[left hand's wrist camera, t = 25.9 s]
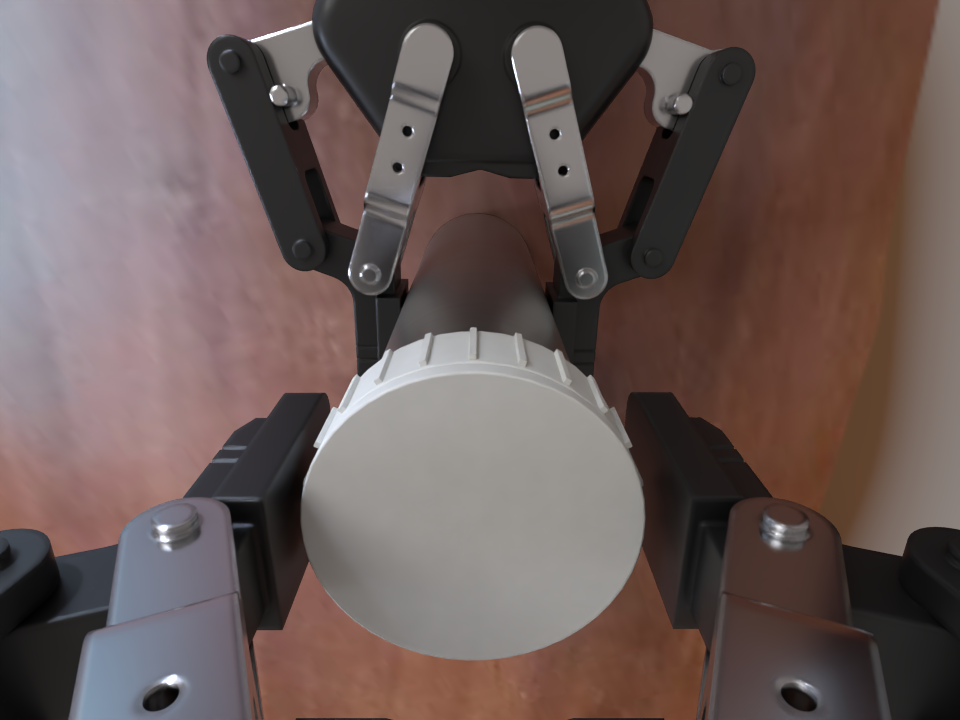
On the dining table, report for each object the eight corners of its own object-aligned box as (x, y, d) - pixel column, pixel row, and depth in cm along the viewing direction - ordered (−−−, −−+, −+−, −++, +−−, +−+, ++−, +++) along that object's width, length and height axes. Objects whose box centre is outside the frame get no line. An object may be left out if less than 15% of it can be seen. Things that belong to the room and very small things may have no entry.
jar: (494, 337, 26) (514, 636, 11) (403, 285, 25) (293, 531, 10) (551, 250, 25) (663, 455, 10) (458, 191, 24) (422, 317, 9)
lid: (391, 620, 12) (378, 698, 10) (268, 385, 10) (230, 435, 9) (656, 545, 11) (686, 615, 10) (576, 280, 10) (595, 313, 8)
